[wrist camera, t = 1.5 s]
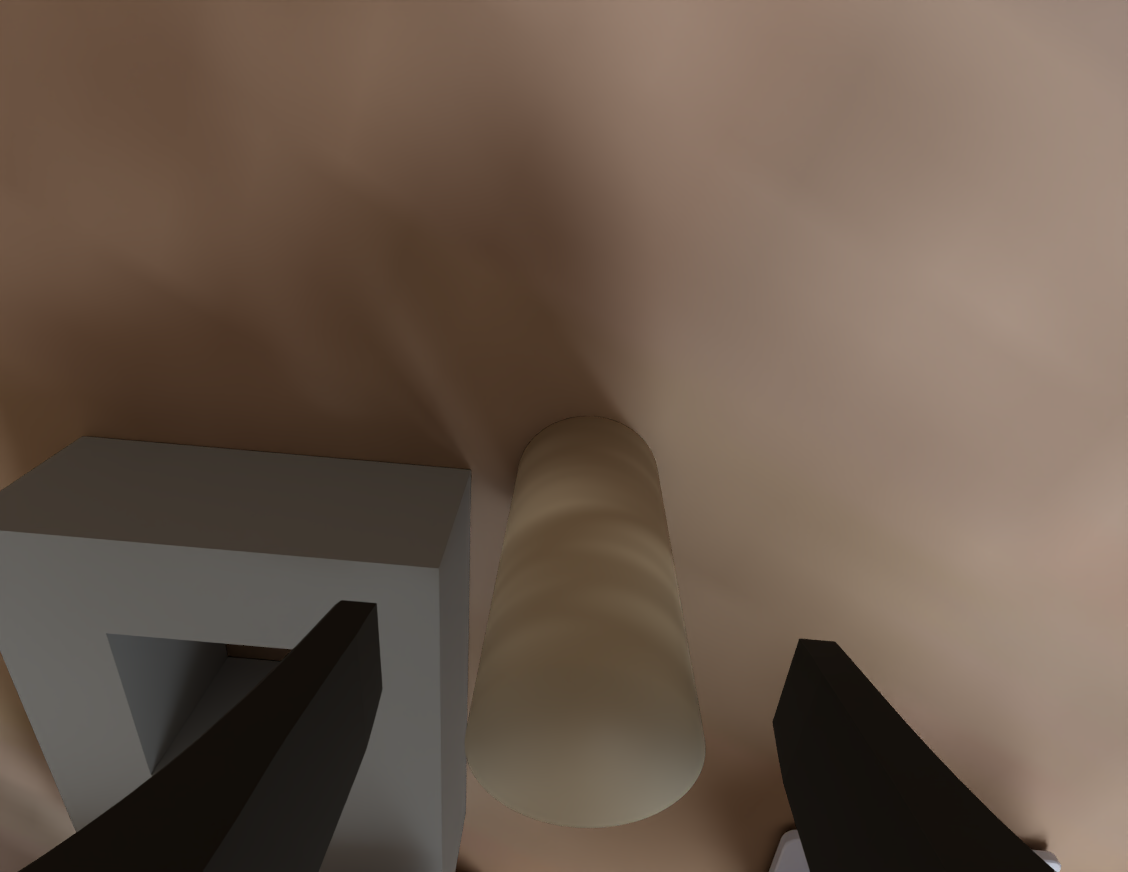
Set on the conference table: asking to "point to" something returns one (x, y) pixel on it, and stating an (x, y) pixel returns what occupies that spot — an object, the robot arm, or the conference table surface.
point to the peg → (586, 640)
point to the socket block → (238, 619)
